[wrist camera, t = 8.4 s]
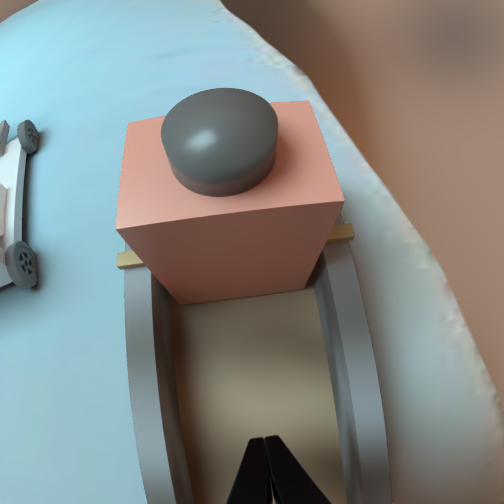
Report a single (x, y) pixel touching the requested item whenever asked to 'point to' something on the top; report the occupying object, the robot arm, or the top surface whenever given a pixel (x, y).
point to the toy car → (15, 206)
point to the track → (256, 383)
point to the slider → (228, 195)
